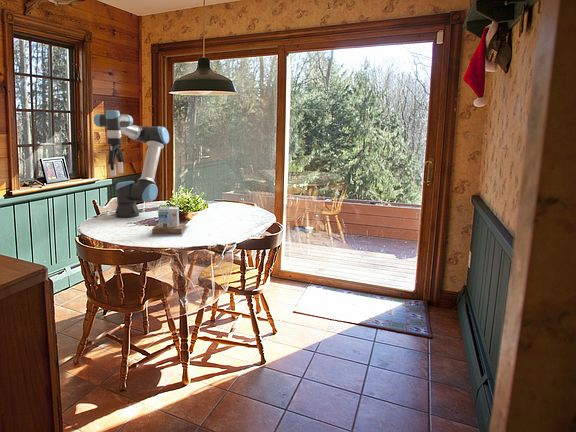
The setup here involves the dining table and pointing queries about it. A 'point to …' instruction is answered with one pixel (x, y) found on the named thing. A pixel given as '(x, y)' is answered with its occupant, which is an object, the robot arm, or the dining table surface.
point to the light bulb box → (168, 216)
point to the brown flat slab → (168, 234)
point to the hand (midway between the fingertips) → (117, 174)
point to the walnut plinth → (169, 229)
